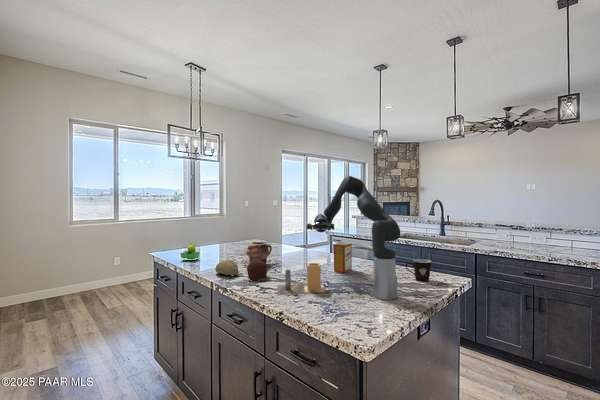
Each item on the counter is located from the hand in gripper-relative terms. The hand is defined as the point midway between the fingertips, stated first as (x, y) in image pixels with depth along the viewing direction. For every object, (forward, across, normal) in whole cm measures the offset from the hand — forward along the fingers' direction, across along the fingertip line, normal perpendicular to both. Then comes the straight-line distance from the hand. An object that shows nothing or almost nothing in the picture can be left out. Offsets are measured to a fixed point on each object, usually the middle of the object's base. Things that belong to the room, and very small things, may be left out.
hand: (320, 228), depth 153 cm
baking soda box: (-26, +12, +28) cm, 40 cm away
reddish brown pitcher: (-37, -41, +28) cm, 62 cm away
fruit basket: (-46, -92, +28) cm, 107 cm away
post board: (+15, -8, +28) cm, 33 cm away
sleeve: (+14, -2, +26) cm, 30 cm away
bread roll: (-12, -53, +28) cm, 61 cm away
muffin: (-3, -33, +28) cm, 44 cm away
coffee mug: (-11, +51, +28) cm, 59 cm away
